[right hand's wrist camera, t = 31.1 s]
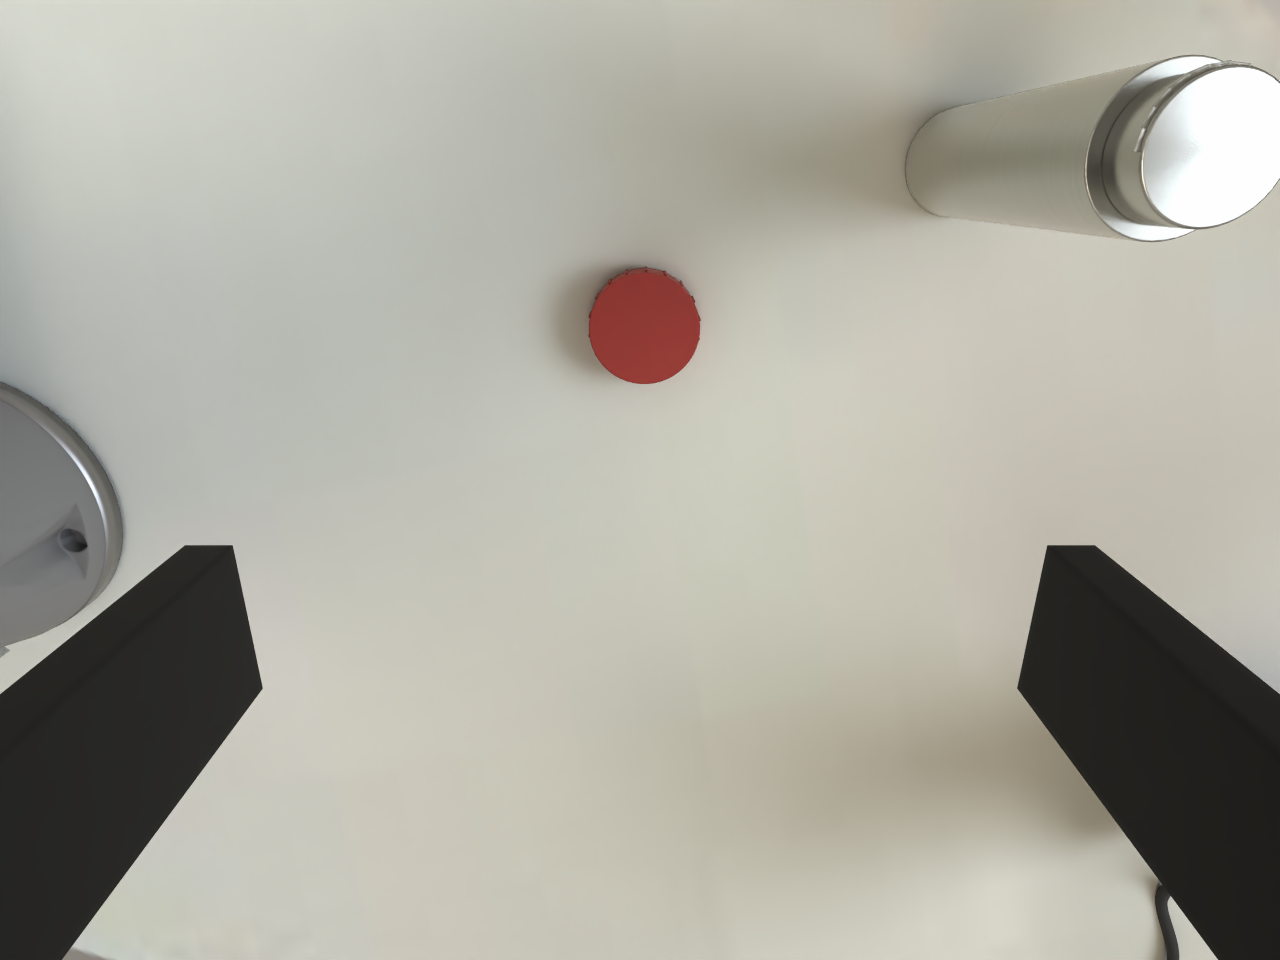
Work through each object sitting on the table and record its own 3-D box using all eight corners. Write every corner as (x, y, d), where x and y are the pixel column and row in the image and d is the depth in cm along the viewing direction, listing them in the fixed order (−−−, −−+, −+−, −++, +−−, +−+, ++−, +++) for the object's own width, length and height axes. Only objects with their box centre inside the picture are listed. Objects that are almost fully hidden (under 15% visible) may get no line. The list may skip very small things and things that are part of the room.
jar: (1021, 113, 36) (1349, 57, 19) (992, 223, 38) (1269, 257, 21) (919, 99, 36) (1161, 30, 19) (894, 210, 37) (1096, 235, 21)
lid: (611, 389, 41) (609, 399, 39) (575, 286, 39) (571, 292, 37) (711, 356, 40) (714, 365, 38) (679, 251, 38) (681, 255, 36)
